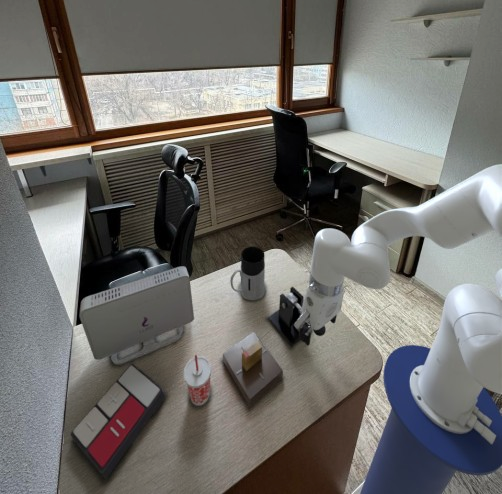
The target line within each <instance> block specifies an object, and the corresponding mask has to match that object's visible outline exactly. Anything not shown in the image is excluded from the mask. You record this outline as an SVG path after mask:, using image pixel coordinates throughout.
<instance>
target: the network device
mask: <svg viewBox="0 0 502 494" xmlns="http://www.w3.org/2000/svg"><path fill="white" fill-rule="evenodd" d="M193 305H194V303H193V295H192V287H191V278H190V275H189V272H188V270H187V267H186V266H184V265H183V266H177V267H173V268H171V269H169V270H168V269H167V270H165V271H162V272H159V273H156V274H153V275H149V276H146V277H143V278H140V279H138V280H134V281H130V282H128V283H125V284H122V285H119V286H115V287H113V288H109V289H106V290H103V291H100V292H97V293H94V294H90V295H88V296H85V297H83V299H82V300H81V301H80V307H79V320H80V322H81V326H82V329H83V331H84V334H85V336H86V339H87V343H88V345H89V347H90V351H91V353H92V356H93V358H94V360H96V361H100V360H103V359H106V358H108V357H110V358H111V361H112V363H113V364H114V365H117V366H119V365H121V366H122V365H124V364H126V363H129V362H131V361H134V360H136V359H138V358H140V357H143V356H144V355H147V354H149V353H153V352H154V351H156V350H158V349H159V350H160V349H161V348H163V347H166V346H168V345H171V344H173V343H175V342H177V341H179V339H181V337H182V336H183V334H184V327H183V326H185V325H189V324H190V323H192V322H193V321H194V319H195V314H194V306H193ZM176 329H178V333H177V335H175V336H173V337H170V338H168V339H166V340H164V341H161V342H156V340H155V338H157V337H159V336H161V335H164V334H166V333H169V332H171V331H173V330H176ZM140 344H142V345H143V347H142V349H141V350H140V351H137V352H135V353H133V354H131V355H129V356H126V357H123V358H121V359H118V353H121V352H123V351H125V350H127V349H130V348H133V347H135V346H138V345H140Z"/></svg>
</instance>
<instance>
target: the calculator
mask: <svg viewBox="0 0 502 494" xmlns="http://www.w3.org/2000/svg"><path fill="white" fill-rule="evenodd" d="M165 399H166V395H165V392H164V389H163V388H162V387H161V386H160V385H159V384H158V383H156V382H155V381H154V380H153V379H152V378H151V377H149V376H148V375H147V374H146V373H144V371H142V370H141V369H140V368H138V366H137V365H135V364H134V363H130V365H129V366H128V367H127V368H126V369H125V370H124V371H123V373H121V375H120V376H119V377H118V378H117V379H116V381H115V382H114V383H113V384H112V385H111V386H110V387H109V388H108V390H107V391H105V393H104V395H102V397H101V398H100V399H99V400H98V401H97V402H96V404H94V406H93V407H91V409H90V410H89V412H87V414H86V415H85V416H84V418H82V419H81V420H80V421H79V423H78V424H77V425H76V426H75V428H74V429H73V430H72V431H71V432H70V437H71V438H72V441H74V443H75V444H76V445H77V446H78V448H79V449H80V450H81V452H83V454H84V455H85V456H86V458H87V459H88V460H89V461H90V463H91V464H92V465H93V466H94V467H95V469H96V470H97V471H98V472H99V473H100V475H101V476H102V477H103V478H104V479H108V478H109V476H110V475H111V473H113V471H114V470H115V468H116V466H117V465H118V464H119V462H120V461H121V459H122V458H123V456H124V455H125V453H126V452H127V451H128V449H129V448H130V446H132V444H133V442H134V441H135V440H136V439H137V437H138V435H139V434H140V433H141V431H142V430H143V428H144V427H145V425H146V424H147V423H148V422H149V420H150V419H151V418H152V417H153V416H154V415H155V413H156V412H157V410H159V408H160V406H161V405H162V403H163V402H164V400H165Z"/></svg>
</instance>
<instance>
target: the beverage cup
mask: <svg viewBox="0 0 502 494" xmlns="http://www.w3.org/2000/svg"><path fill="white" fill-rule="evenodd" d="M211 364H212V363H211V361H210V360H209V359H208V358H207V357H205V356H203V355H197V354H195V355H194V357H192V358H191V359H189V361H187V363H186V365H184V369H183V379H184V382H185V383H186V386H187V390H188V393H189V397H190V401H191V403H192V404H193V405H195V406H202V405H204V404H206V403H207V402H208V400H209V398H210V396H211V395H210V394H211V377H212V376H211V375H212V365H211Z"/></svg>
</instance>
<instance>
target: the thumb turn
mask: <svg viewBox="0 0 502 494" xmlns="http://www.w3.org/2000/svg"><path fill="white" fill-rule="evenodd" d="M260 359H262V346H261V344H260V343H259V342H258V341H257V342H256V343H255V344H253V345H252V346H251V347H249V348H248V349H247V350H245V351H244V352H243V353H242V366H243V368H244V369H245V371H247V370H248V369H250V368H251V367H252V366H253V365H254V364H256V363H257V362H258V361H259V360H260Z"/></svg>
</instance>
